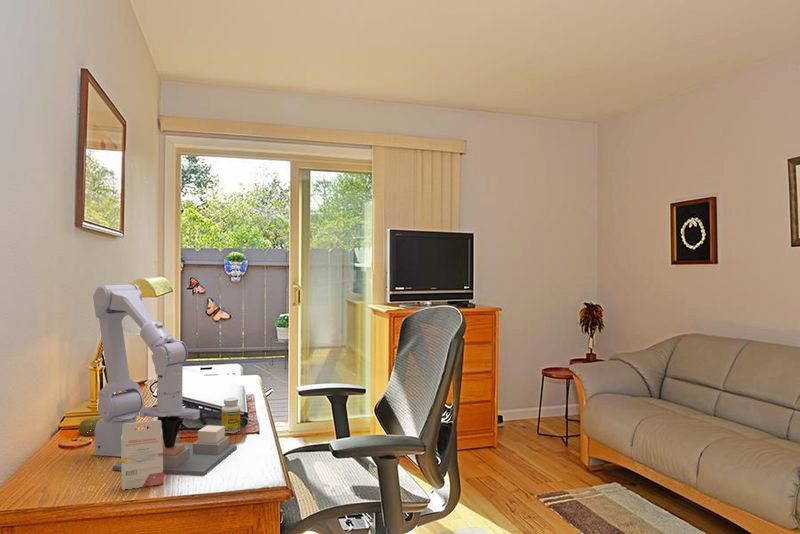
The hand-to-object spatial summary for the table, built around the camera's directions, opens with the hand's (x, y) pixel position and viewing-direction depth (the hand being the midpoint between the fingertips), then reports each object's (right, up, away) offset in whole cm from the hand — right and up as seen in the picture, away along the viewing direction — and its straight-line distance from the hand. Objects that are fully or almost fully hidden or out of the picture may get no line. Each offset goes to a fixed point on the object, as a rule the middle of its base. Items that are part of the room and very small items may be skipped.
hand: (169, 446), depth 138 cm
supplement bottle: (+6, -5, +28) cm, 30 cm away
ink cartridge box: (-2, -5, -11) cm, 12 cm away
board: (0, -5, +5) cm, 7 cm away
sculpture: (-33, -5, +26) cm, 42 cm away
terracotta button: (0, -3, 0) cm, 3 cm away
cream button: (+7, -2, +9) cm, 12 cm away
